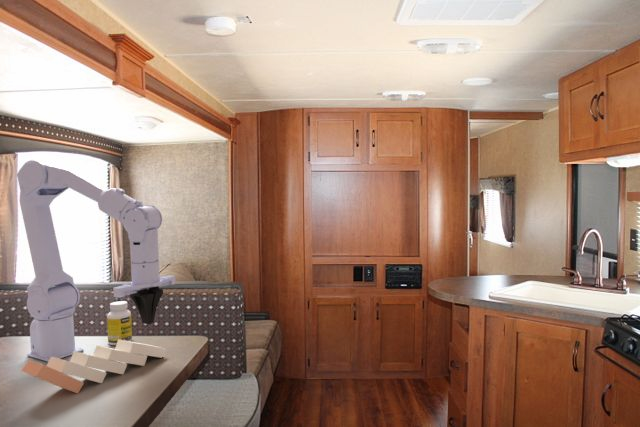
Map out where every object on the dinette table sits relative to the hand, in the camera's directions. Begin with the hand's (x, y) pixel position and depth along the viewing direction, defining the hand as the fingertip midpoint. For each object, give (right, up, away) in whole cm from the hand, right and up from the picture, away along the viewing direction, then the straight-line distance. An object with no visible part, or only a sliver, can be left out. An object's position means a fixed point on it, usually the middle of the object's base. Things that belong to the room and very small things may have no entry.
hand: (148, 323), depth 98 cm
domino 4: (+1, -7, +2) cm, 7 cm away
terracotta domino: (-8, -8, -14) cm, 19 cm away
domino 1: (-6, -8, -10) cm, 14 cm away
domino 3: (-1, -7, -2) cm, 8 cm away
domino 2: (-4, -8, -6) cm, 11 cm away
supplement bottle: (-11, -8, +12) cm, 18 cm away
